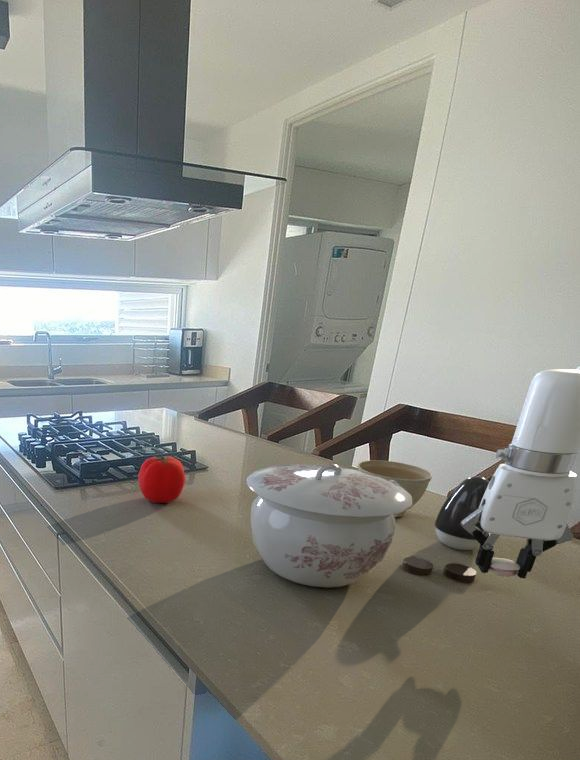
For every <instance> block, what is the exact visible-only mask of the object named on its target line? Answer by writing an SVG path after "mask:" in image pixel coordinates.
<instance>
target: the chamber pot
mask: <svg viewBox="0 0 580 760" xmlns="http://www.w3.org/2000/svg"><path fill="white" fill-rule="evenodd" d="M246 483H247V487H248V488H249V489H250V490H252V492H254V493H255V494H256V495H257V496H256V497H255V499H253V502H251V504H250V505H251V507H250V513H249V517H250V529H251V530H250V531H251V538H252V544H253V545H254V547H255V549H256V551H257V553H258V555H259V557H260V559H261V560H262V562H263V563H264V564H265V565H266V567H268V569H269V570H270V571H271V572H273V573H275V574H276V575H278V576H279V577H281V578H283V579H286V580H288V581H291V582H293V583H296V584H301V585H304V586H307V587H308V586H309V587H317V588H327V589H329V588H340V587H345V586H348V585H351V584H354V583H357V582H358V581H359V580H360V579H362V578H363V577H364V576H365V575H367V574H368V573H369V572H370V571H371V570H372V569H374V568H375V567H376V566H377V565H379V564H380V563H381V562H382V561H383V559H384V557H385V556H386V554H387V552H388V550H389V548H390V546H391V544H392V542H393V538H394V535H395V533H396V518H397V517H396V516H397V515H398V514H399V513H401V512H403V511H404V510H406V509H407V508H409V507H410V506H411V505H412V496H411V495H410V494H409V493H408V492H407V491H406V490H405V489H403V488H402V487H401V486H400V484H398V483H397V482H396V481H394V480H389V481H388V480H386V479H383V478H380V477H377V476H374V475H371V474H368V473H365V472H361V471H358V470H355V469H351V468H348V467H347V468H346V467H341V466H340V465H338V464H335V463H327V464H311V463H295V464H294V463H293V464H292V463H291V464H289V463H288V464H281V465H273V466H266V467H263V468H260V469H257V470H254V471H253V472H252V473H251V474H250V475H249V476H248V477H247V478H246ZM409 509H410V508H409ZM406 511H407V510H406Z"/></svg>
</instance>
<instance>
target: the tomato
mask: <svg viewBox="0 0 580 760" xmlns="http://www.w3.org/2000/svg"><path fill="white" fill-rule="evenodd" d="M151 456H152V457H148V458H147V459H145V460H144V461H143V463H142V464H141V465H140V468H139V472H138V477H137V479H138V481H137V482H138V486H139V487H138V488H139V489H140V492H141V494H142V496H143V497H144V498H145V499H146V500H148V501H149V502H152V503H156V504H168V503H169V504H170V503H171V502H173V501H175V500H177V499H178V498H179V497H180V495H181V494H182V492H183V489H184V487H185V484H186V478H187V477H186V475H185V469H184V465H183V464H182V462H181V460H179V459H177V458H175V457H173V456H170V455H166V456H164V455H161V457H160V456H155V455H153V454H151Z"/></svg>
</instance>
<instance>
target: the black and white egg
mask: <svg viewBox="0 0 580 760" xmlns="http://www.w3.org/2000/svg"><path fill="white" fill-rule="evenodd" d="M489 483H490V481H489V480H488V479H487V478H485V477H483V476H478V475H477V476H470V477H467V478H465V479H464V480H462V481H461V482H460V483H458V485H457V486H456V487H455V488H454V489H453V490H452V491H451V493H450V494H449V495H448V497H447V498H446V500H445V501H444V502H443V504H442V505H441V507H440V510H439V512H438V514H437V516H436V518H435V521H434V527H435V534H436V538H437V539H438V540H439V542H441V544H443V545H445V546H446V547H449V548H451V549H455V550H457V551H458V550H460V551H472V550H476V549H479V547H480V543H479V542H478V541H477V540H476V539H475V537H474V536H473V535H471V534H470V533H469V532H468V531H466V530H465V529H464V528H463V527H462V525H461V521H463V520H464V519H465V518H467V517H468V516H469V515H470V514H472V513H473V512H474V511H476V510H477V509H478V508H479V506H480V503H481V501H482V498H483V496H484V493H485V491H486V489H487V487H488V485H489ZM475 526H476V527H477V528H479V529H480V530H481V531H482V533H483V531H484V530H483V528H482V527H481V523H479V522H478V523H477V524H476V525H475Z"/></svg>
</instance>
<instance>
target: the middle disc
mask: <svg viewBox="0 0 580 760" xmlns="http://www.w3.org/2000/svg"><path fill="white" fill-rule="evenodd" d="M442 573H443V575H444V576H445V577H446V578H448V579H449V580H452V581H455V582H458V583H464V584H469V583H473V582H474V581H475V579H476V577H477V570H475V569H474V568H472V567H470V566H468V565H465V564H462V563H455V562H451V563H450V562H449V563H446V564H445V565H444V568H443V571H442Z"/></svg>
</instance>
